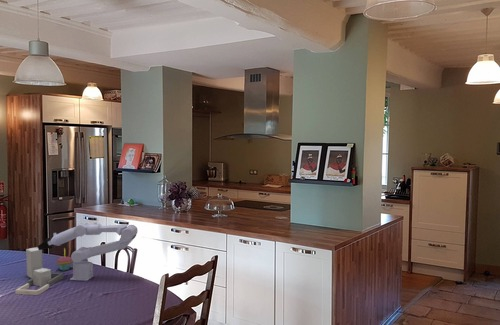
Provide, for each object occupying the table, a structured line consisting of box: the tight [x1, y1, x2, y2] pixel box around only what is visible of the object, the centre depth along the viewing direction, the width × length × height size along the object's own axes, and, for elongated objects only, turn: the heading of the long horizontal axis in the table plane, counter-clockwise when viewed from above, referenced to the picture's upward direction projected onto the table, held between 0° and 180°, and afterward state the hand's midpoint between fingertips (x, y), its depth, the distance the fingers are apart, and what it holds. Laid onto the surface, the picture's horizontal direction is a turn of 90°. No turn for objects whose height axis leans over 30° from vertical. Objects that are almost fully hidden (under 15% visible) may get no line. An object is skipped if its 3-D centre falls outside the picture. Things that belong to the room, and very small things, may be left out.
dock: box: [26, 272, 64, 288], centre depth 228 cm, size 11×15×2 cm
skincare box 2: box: [32, 267, 52, 288], centre depth 224 cm, size 6×6×7 cm
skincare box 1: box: [25, 246, 44, 279], centre depth 236 cm, size 8×6×15 cm
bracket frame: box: [14, 282, 50, 296], centre depth 214 cm, size 11×10×2 cm
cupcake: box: [56, 248, 73, 271], centre depth 250 cm, size 9×8×12 cm
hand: (42, 246), depth 234 cm, fingers open, 7 cm apart
